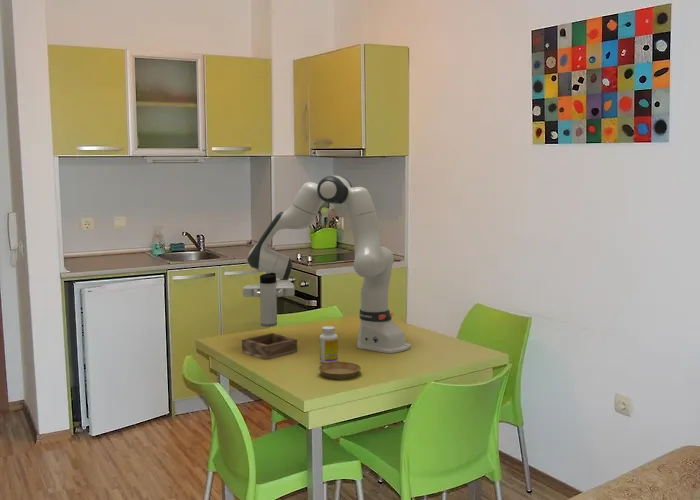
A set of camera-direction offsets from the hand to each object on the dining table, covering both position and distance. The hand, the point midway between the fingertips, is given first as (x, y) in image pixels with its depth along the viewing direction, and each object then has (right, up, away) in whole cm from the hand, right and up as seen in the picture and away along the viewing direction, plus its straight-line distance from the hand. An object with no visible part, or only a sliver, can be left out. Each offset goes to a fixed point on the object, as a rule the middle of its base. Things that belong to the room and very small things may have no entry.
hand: (268, 294), depth 275 cm
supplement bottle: (+23, -24, -10) cm, 35 cm away
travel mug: (0, -12, +2) cm, 12 cm away
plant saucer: (+28, -27, -25) cm, 46 cm away
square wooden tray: (0, -23, +4) cm, 23 cm away
